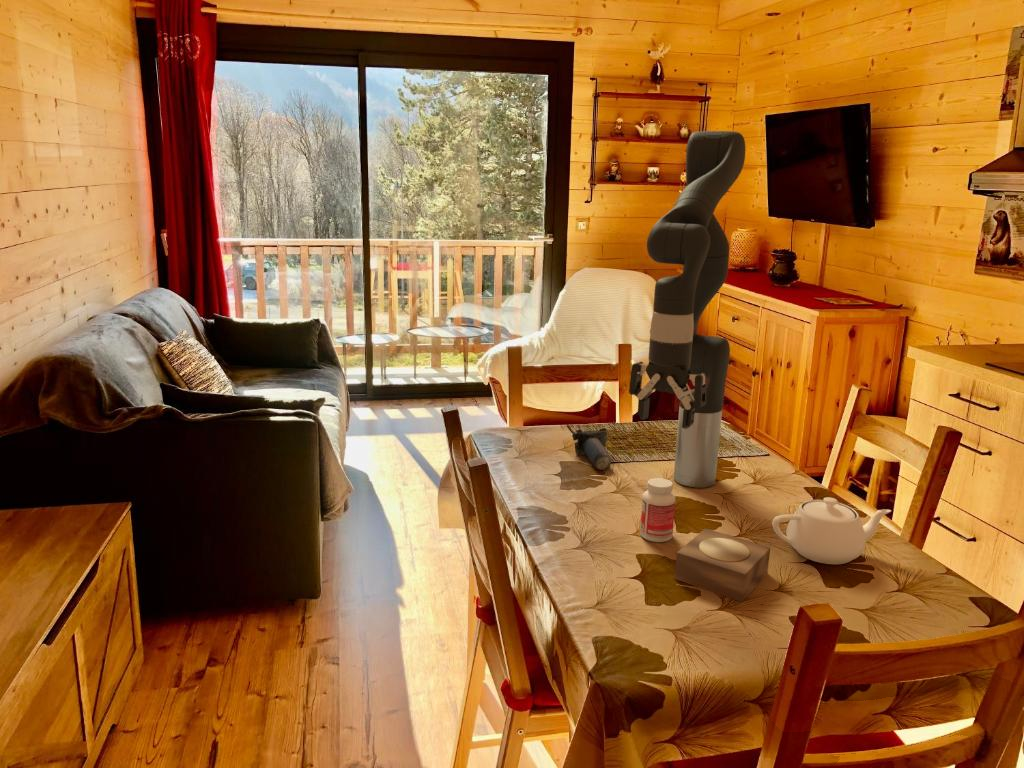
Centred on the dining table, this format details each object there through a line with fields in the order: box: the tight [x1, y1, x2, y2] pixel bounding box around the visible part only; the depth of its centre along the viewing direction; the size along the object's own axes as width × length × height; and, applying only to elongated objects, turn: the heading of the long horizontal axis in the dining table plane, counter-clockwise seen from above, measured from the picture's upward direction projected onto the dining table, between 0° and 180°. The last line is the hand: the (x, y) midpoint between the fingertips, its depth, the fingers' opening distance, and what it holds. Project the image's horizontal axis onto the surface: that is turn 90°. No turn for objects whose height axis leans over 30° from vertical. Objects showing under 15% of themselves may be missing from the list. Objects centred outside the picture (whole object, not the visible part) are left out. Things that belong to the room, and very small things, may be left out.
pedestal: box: [674, 528, 771, 602], centre depth 139 cm, size 12×12×5 cm
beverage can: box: [571, 427, 613, 471], centre depth 191 cm, size 9×8×12 cm
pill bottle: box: [639, 477, 676, 543], centre depth 153 cm, size 6×6×11 cm
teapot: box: [771, 496, 892, 565], centre depth 148 cm, size 22×14×11 cm, turn 94°
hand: (664, 422), depth 148 cm, fingers open, 8 cm apart
